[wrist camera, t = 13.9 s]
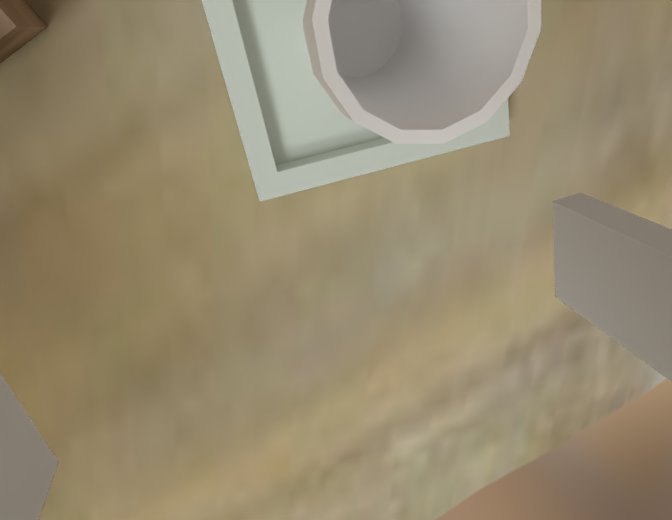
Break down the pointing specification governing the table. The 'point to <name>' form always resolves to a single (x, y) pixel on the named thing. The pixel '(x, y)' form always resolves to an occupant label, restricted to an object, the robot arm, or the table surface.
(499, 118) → the tray
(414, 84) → the foam cup
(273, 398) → the table surface
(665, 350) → the robot arm
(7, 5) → the walnut block
